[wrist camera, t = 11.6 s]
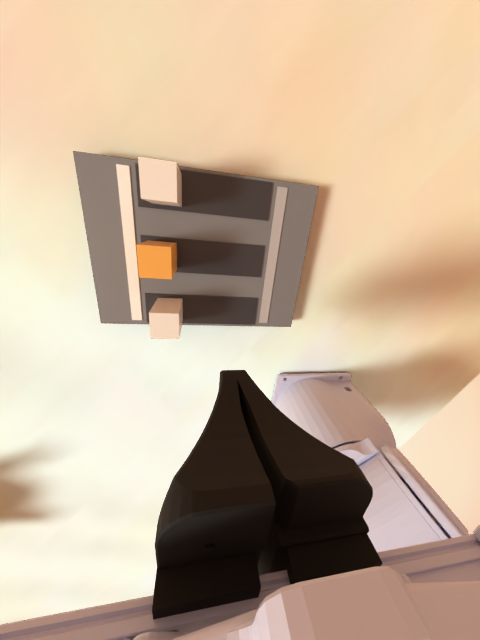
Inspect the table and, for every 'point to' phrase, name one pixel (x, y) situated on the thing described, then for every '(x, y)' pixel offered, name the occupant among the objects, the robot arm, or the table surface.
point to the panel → (193, 243)
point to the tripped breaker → (157, 259)
